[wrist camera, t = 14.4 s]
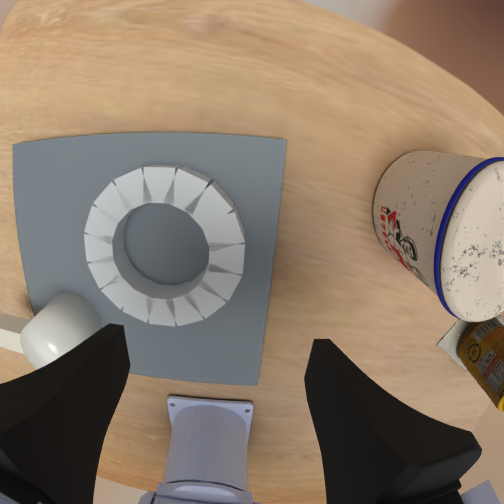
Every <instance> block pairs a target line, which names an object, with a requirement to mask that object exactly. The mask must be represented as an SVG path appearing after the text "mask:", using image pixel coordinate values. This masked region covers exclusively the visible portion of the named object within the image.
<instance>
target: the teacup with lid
mask: <svg viewBox="0 0 504 504" xmlns="http://www.w3.org/2000/svg"><path fill="white" fill-rule="evenodd" d="M373 217H374V225H375V229H376V233H377V236H378V238H379V240H380V242H381V244H382V245H383V247H384V248H385V249H386V251H387V252H388V253H389V254H390V255H391V256H393V257H394V258H395V259H396V260H397V261H399V262H400V263H401V264H402V265H403V266H404V267H406V268H407V269H408V270H409V271H410V272H411V273H413V274H414V275H415V276H416V277H417V278H418V279H419V280H421V281H422V282H423V283H424V284H425V285H426V286H427V287H428V288H429V289H431V290H432V291H433V292H434V293H435V294H436V295H437V296H438V297H439V299H440V301H441V303H442V305H443V306H444V308H445V309H446V310H447V311H448V312H449V313H450V314H451V315H453V316H454V317H456V318H458V319H461V320H465V321H469V322H481V321H485V320H488V319H491V318H493V317H495V316H497V315H499V314H500V313H502V312H503V311H504V158H503V157H494V158H490V159H484V158H478V157H472V156H465V155H459V154H452V153H444V152H436V151H427V150H419V151H413V152H410V153H407V154H405V155H403V156H401V157H400V158H398V159H397V160H396V161H395V162H394V163H393V164H392V165H391V166H390V167H389V168H388V169H387V170H386V172H385V173H384V175H383V177H382V179H381V180H380V183H379V185H378V188H377V191H376V194H375V199H374V207H373Z"/></svg>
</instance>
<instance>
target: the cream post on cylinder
mask: <svg viewBox="0 0 504 504" xmlns="http://www.w3.org/2000/svg"><path fill="white" fill-rule="evenodd" d="M100 329H101V322H100V319H99V316H98V314H97V313H96V311H95V309H94V308H93V307H92V306H91V305H90V303H89V302H87V301H86V300H85V299H84V298H82V297H81V296H79V295H77V294H74V293H71V292H62V293H59V294H57V295H56V296H55V297H54V298H53V299H52V300H51V301H50V302H49V303H48V304H47V305H46V306H45V307H44V308H43V309H42V310H41V311H40V312H39V313H38V314H37V315H36V316H35V317H34V318H33V319H32V320H30V319H25V318H21V317H16V316H12V315H8V314H4V313H2V314H1V315H0V347H3V348H6V349H9V350H12V351H15V352H19V353H22V354H25V356H26V357H27V359H28V360H29V361H30V363H31V364H32V365H33V366H34V367H35V368H36V369H39V368H41V367H43V366H45V365H47V364H49V363H51V362H52V361H54V360H56V359H57V358H59V357H60V356H62V355H64V354H65V353H67V352H68V351H70V350H71V349H73V348H74V347H76V346H77V345H79V344H80V343H82V342H83V341H84V340H86V339H87V338H89V337H90V336H91V335H93V334H94V333H96V332H97V331H98V330H100Z"/></svg>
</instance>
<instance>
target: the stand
mask: <svg viewBox="0 0 504 504" xmlns="http://www.w3.org/2000/svg"><path fill="white" fill-rule="evenodd" d="M286 142H287V140H285V139H276V138H266V137H256V136H243V135H229V134H210V133H174V132H151V133H116V134H98V135H85V136H73V137H63V138H54V139H46V140H38V141H31V142H24V143H18V144H13V189H14V204H15V215H16V225H17V233H18V240H19V247H20V253H21V259H22V265H23V270H24V275H25V280H26V284H27V289H28V293H29V297H30V301H31V305H32V309H33V313H34V316H36V315H37V314H38V313H39V312H40V311H41V310H42V309H43V308H44V307H45V306H46V305H47V304H48V303H49V302H50V301H51V300H52V299H53V298H54V297H55V296H56V295H57V294H59V293H62V292H71V293H74V294H77V295H79V296H81V297H82V298H84V299H85V300H86V301H87V302H89V303H90V305H91V306H92V307H93V308H94V309H95V311H96V313H97V314H98V316H99V319H100V322H101V328H103V327H104V326H106V325H107V324H109V323H112V324H119V325H124V331H125V337H126V343H127V348H128V354H129V359H130V364H131V366H130V370H129V373H132V374H138V375H144V376H151V377H158V378H166V379H174V380H183V381H192V382H203V383H215V384H230V385H252V386H257V384H258V377H259V370H260V363H261V355H262V348H263V341H264V333H265V326H266V318H267V310H268V303H269V295H270V287H271V279H272V270H273V262H274V254H275V245H276V237H277V228H278V219H279V210H280V201H281V191H282V182H283V172H284V162H285V152H286Z"/></svg>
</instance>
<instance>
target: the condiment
mask: <svg viewBox="0 0 504 504" xmlns="http://www.w3.org/2000/svg"><path fill="white" fill-rule="evenodd" d="M458 334H459V336H458ZM458 337H459V338H458ZM457 338H458V340H457ZM437 345H438V346H439V347H440V348H441V349H443V350H444V351H445V352H446V353H447V354H448V355H449V356H450V357H451V358H452V359H454V360H455V361H456V362H457V363H458V364H459V365H460V366H461V367H462V368H463V369H464V370H466V369H468V371H469V372H470V373H471V375H472V376H473V377H474V379H476V381H477V382H478V384H479V385H480V386H481V388H482V389H483V390H484V391H485V392H486V393H487V395H488V396H489V398H490V399H491V400H492V402H493V403H494V405H495V406H496V408H497V409H498V410H500V411H504V321H503V319H502V318H501V316H500V314H499V315H497V316H495V317H493V318H491V319H488V320H485V321H481V322H469V321H465V320H461V319H459V320H457V321H456V324H455V325H454V326H453V327H452V329H451V330H450V331H449V332H448V333H447V334H446V335H445V336H444V338H443V339H442V340H441V341H440V342H439V343H438V344H437Z"/></svg>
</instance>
